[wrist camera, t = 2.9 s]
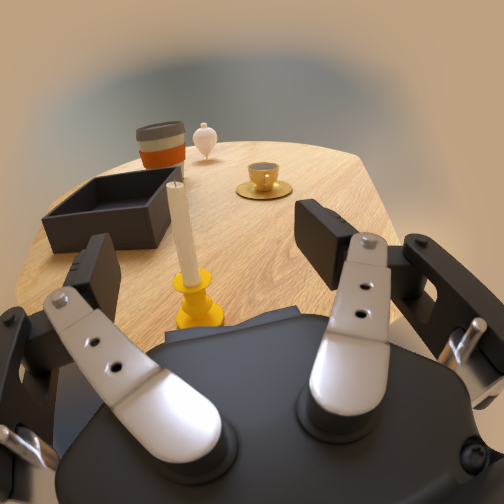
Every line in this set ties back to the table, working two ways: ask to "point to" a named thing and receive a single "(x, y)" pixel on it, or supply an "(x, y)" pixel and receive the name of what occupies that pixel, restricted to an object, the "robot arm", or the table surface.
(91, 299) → the robot arm
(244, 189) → the cup
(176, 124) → the reusable coffee cup
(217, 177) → the table surface
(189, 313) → the candle
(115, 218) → the bin
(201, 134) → the spinning top
